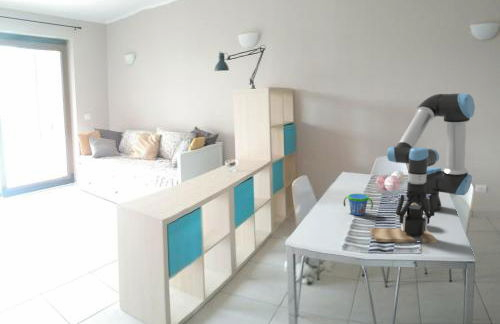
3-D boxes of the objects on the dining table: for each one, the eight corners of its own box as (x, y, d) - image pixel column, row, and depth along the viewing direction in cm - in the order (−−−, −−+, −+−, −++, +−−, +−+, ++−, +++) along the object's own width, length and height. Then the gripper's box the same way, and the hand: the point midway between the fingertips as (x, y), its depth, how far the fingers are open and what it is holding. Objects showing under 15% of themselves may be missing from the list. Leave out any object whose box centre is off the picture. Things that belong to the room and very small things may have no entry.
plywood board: (426, 232, 176) (426, 229, 176) (436, 243, 163) (437, 239, 163) (369, 231, 179) (370, 228, 178) (376, 241, 166) (376, 238, 166)
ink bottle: (419, 228, 174) (420, 203, 172) (428, 235, 166) (430, 209, 164) (398, 228, 174) (400, 204, 172) (407, 236, 165) (409, 210, 163)
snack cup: (340, 214, 204) (340, 196, 202) (347, 209, 213) (347, 191, 211) (368, 219, 195) (369, 200, 193) (374, 213, 204) (375, 195, 202)
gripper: (394, 184, 163) (391, 232, 167) (445, 184, 161) (441, 233, 165) (389, 180, 170) (387, 226, 175) (438, 180, 168) (435, 227, 172)
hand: (413, 230), depth 170 cm, fingers closed on ink bottle, 9 cm apart
